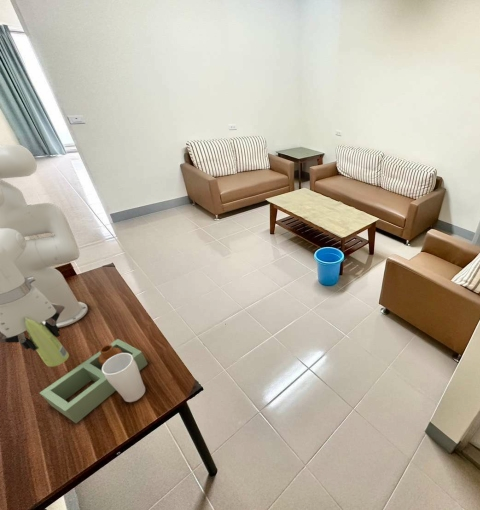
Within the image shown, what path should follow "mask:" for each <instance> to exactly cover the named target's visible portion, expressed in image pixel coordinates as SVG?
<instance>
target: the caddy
mask: <svg viewBox="0 0 480 510" xmlns="http://www.w3.org/2000/svg"><path fill="white" fill-rule="evenodd" d="M109 345H112V346H113V348H114V347H116V348H120V349H121V351H122V353H129V354H131V355H132V357H133V358H134V360H135V362H136V364H137V366H138V369H139V372H140V371H141V370H143V369H144V368H145V367H146V366H147V365H148V362H147V360H146V358H145V356H144V353H143V351H141V350H140V349H138V348H137V347H134V346H132V345H131V344H129V343H127V342H125V341H123V340H121V339H119V338H116V339H115V340H114V341H112V342H111V343H110V344H109ZM100 354H101V352H100V350H99V351H98V352H96V353H95V354H93V355H92V356H91V357H89V358H87V359H86V360H84V362H82V363H80V364H79V365H77V366H76V367H74V368H73V369H72V370H70V371H69V372H68V373H66V374H65V375H63V376H61V377H60V378H59V379H57V380H56V381H54V382H53V383H51V384H50V385H48V386H47V387H46V388H44V389H42V391H40V392H39V395H41V397H42V398H43V399H44V400H45V401H46V402H47V403H48V404H49V405H50V407H52V408H53V409H55V410H56V411H58V412H59V413H60V414H62V415H63V416H65V417H66V418H67V419H68V420H70V421H72V422H73V423H75V424H78V423H79V422H80V421H81V420H83V419H84V418H85V417H86V416H87V415H89V414H90V413H91V412H92V411H93V410H95V409H96V408H97V407H98V406H100V404H102V403H103V402H104V401H105V400H106V399H108V398H109V397H110V396H111V395H112V394H114V393H115V392H117V391H116V390H115V389H114V387H113V386H112V385H111V384H110V383H109V382H108V381H107V379H106V378H105V376H104V374H103V372H102V366H101V364H100V363H99V360H98V358H99V356H100ZM90 382H93V383H92V384H91V385H90V386H89V387H87V388H86V389H84V390H83V391H82V392H81V393H79V394H78V395H77V396H75V397H74V398H73V399H71V400H70V401H69V402H68V401H67V400H68V399H69V398H71V396H73V395H74V394H76V393H77V392H79V391H80V390H81V389H82V388H84V387H85V386H86V385H88V384H89V383H90Z"/></svg>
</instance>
